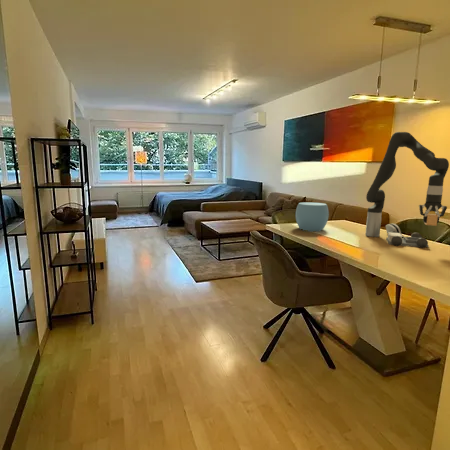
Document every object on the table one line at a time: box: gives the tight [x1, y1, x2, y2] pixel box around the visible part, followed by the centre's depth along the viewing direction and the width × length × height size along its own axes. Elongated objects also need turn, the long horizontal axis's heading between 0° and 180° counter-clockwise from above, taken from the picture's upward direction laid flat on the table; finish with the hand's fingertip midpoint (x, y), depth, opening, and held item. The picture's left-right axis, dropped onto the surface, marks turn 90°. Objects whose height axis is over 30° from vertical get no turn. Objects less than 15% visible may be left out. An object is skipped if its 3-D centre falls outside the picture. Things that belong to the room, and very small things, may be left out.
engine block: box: [424, 213, 438, 227], centre depth 188 cm, size 5×5×6 cm
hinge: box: [385, 223, 405, 237], centre depth 236 cm, size 17×5×10 cm, turn 177°
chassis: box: [385, 231, 430, 249], centre depth 212 cm, size 22×20×6 cm
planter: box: [295, 201, 330, 232], centre depth 255 cm, size 25×25×20 cm
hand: (430, 222), depth 188 cm, fingers closed on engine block, 5 cm apart
